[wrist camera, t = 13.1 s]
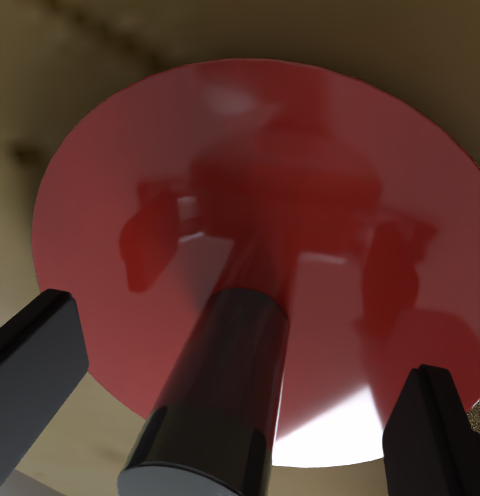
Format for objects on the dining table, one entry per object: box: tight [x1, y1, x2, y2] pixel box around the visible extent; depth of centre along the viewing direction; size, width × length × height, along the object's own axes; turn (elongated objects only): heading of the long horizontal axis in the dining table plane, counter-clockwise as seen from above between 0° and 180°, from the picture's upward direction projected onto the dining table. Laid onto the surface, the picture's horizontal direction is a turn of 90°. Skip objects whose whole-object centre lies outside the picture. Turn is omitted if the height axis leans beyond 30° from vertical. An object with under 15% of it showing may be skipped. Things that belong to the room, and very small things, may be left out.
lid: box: [31, 58, 480, 496], centre depth 10 cm, size 15×15×7 cm
